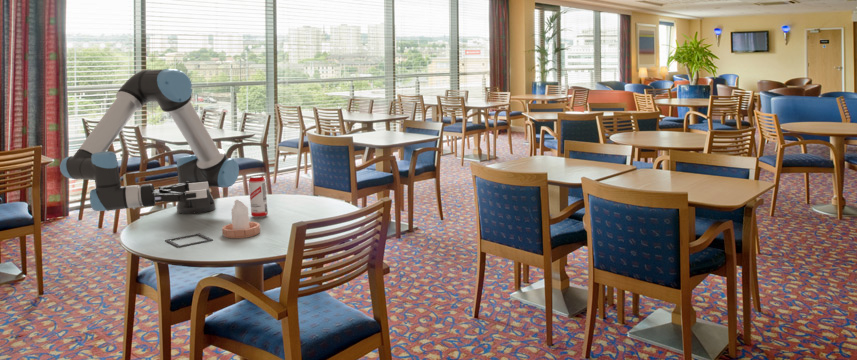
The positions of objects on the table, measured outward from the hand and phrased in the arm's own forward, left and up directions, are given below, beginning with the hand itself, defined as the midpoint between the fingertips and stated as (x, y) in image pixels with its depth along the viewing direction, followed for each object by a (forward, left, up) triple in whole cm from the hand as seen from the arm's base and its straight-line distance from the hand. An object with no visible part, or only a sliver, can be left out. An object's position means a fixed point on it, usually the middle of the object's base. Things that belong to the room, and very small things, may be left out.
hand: (207, 189), depth 231 cm
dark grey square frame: (-1, -8, -17) cm, 19 cm away
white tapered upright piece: (+4, +9, -17) cm, 19 cm away
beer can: (-16, +26, -17) cm, 35 cm away
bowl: (+4, +9, -17) cm, 20 cm away
